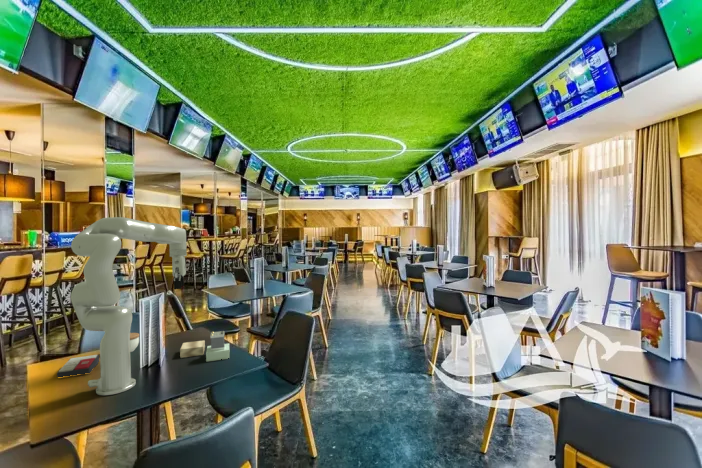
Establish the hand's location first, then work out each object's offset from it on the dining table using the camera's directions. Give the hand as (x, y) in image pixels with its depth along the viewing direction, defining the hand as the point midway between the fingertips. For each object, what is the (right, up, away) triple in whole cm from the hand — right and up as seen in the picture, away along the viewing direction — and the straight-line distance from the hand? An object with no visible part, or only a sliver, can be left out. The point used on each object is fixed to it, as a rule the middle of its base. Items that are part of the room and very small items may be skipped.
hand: (179, 287), depth 167 cm
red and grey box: (-34, -34, -20) cm, 52 cm away
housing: (+22, -28, -7) cm, 36 cm away
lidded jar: (-28, -33, +3) cm, 43 cm away
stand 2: (+22, -32, -7) cm, 40 cm away
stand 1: (+8, -32, -1) cm, 33 cm away
